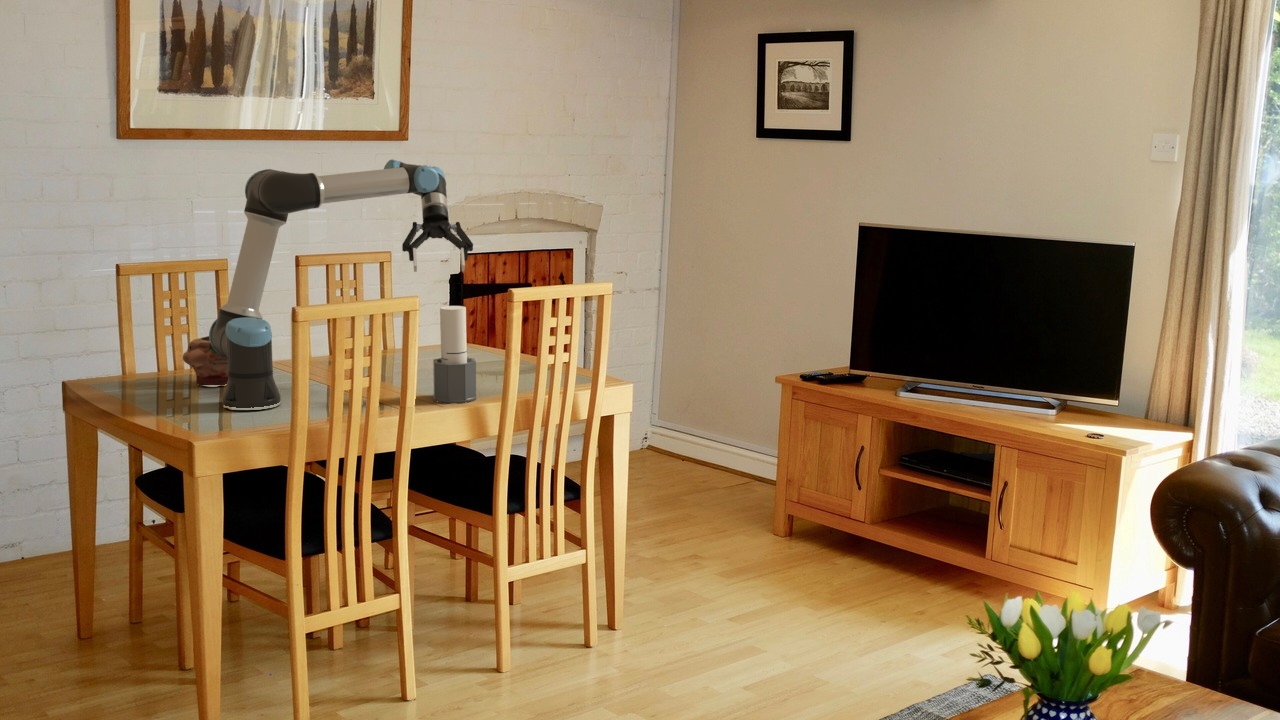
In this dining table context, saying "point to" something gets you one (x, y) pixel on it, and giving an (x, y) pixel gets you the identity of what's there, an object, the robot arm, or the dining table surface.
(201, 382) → the decorative planter
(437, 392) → the holder sleeve
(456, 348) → the cylindrical container
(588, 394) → the dining table surface
